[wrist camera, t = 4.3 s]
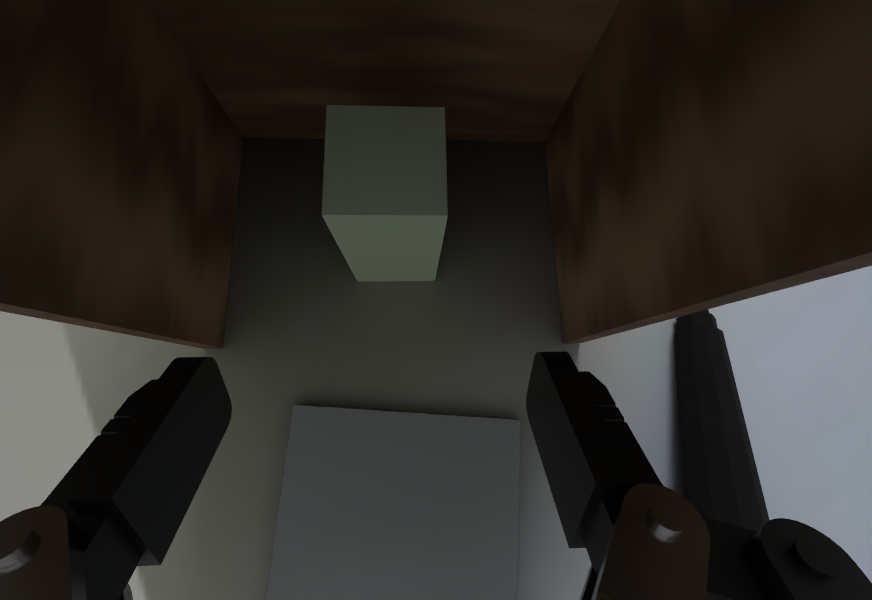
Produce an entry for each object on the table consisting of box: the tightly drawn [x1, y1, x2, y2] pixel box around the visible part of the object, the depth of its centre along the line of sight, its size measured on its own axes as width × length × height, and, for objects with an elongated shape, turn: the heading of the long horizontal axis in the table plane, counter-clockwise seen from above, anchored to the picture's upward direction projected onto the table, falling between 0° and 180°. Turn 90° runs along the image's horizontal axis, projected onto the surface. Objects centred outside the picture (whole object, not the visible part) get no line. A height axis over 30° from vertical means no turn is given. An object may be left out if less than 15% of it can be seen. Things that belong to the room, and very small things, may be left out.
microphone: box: [674, 309, 769, 531], centre depth 20 cm, size 6×6×20 cm
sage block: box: [322, 105, 448, 281], centre depth 19 cm, size 4×4×9 cm
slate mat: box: [265, 404, 521, 600], centre depth 20 cm, size 12×10×1 cm
